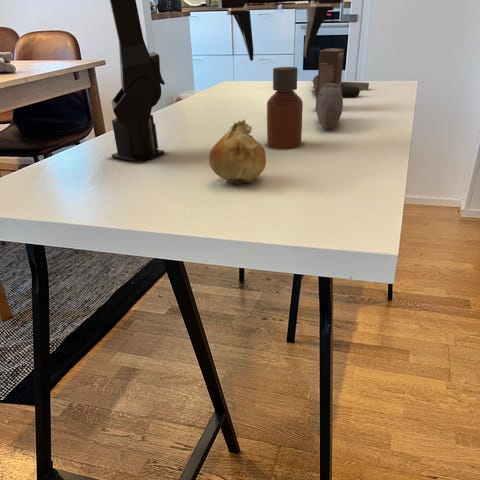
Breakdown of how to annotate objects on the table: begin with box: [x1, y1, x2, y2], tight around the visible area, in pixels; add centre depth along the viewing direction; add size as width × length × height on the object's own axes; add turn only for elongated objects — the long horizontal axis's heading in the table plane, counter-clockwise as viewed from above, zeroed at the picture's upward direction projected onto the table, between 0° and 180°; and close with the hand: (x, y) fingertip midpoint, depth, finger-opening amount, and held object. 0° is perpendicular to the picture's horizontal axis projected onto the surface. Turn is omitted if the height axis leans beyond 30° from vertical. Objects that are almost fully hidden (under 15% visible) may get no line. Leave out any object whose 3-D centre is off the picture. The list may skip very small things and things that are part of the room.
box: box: [315, 48, 345, 111], centre depth 107 cm, size 6×4×12 cm
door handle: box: [311, 74, 370, 98], centre depth 129 cm, size 3×20×16 cm
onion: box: [208, 118, 267, 185], centre depth 66 cm, size 8×8×8 cm
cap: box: [272, 66, 298, 92], centre depth 79 cm, size 4×4×3 cm
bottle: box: [266, 90, 304, 150], centre depth 81 cm, size 6×6×12 cm
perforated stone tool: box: [315, 83, 344, 130], centre depth 94 cm, size 15×5×7 cm, turn 168°
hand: (279, 58), depth 79 cm, fingers open, 9 cm apart
